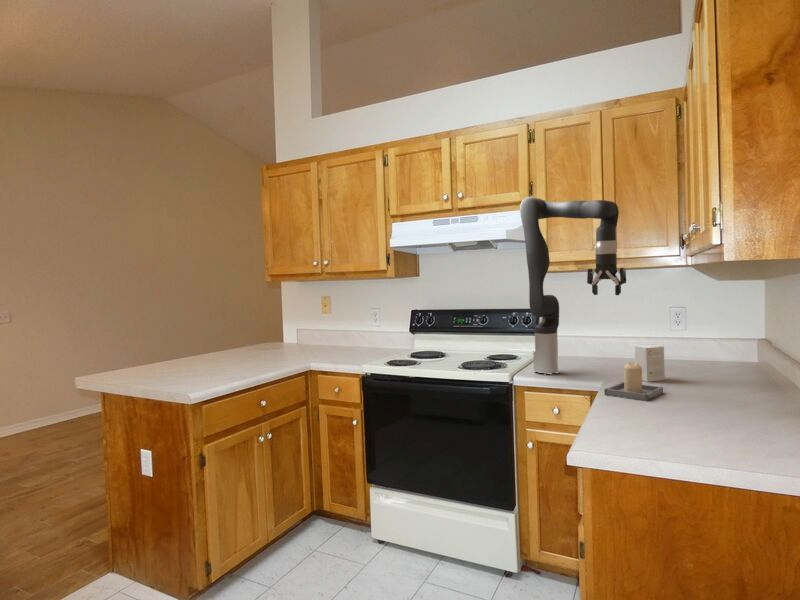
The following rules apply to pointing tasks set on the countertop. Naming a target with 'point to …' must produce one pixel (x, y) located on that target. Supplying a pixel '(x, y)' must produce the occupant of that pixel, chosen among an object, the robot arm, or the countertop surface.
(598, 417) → the countertop surface
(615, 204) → the robot arm
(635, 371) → the candle
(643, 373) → the small box
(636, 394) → the rest tray
